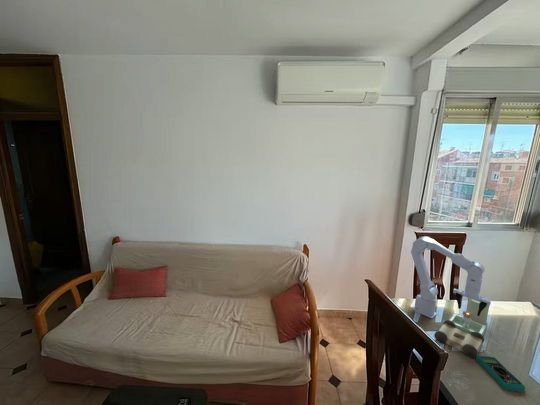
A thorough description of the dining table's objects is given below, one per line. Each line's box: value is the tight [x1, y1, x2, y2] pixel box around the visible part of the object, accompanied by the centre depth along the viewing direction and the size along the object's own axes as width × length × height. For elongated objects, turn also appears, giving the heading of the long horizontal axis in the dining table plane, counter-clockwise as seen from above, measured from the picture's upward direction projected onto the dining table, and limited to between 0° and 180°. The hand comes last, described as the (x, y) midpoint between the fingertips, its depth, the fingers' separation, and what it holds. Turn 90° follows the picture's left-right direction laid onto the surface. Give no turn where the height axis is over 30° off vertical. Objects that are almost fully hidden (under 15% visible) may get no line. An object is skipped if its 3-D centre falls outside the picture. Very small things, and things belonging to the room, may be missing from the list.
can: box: [465, 298, 490, 325], centre depth 132 cm, size 9×9×12 cm
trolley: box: [433, 319, 485, 359], centre depth 114 cm, size 16×15×5 cm
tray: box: [449, 313, 487, 336], centre depth 123 cm, size 13×11×4 cm
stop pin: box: [462, 310, 473, 329], centre depth 123 cm, size 4×4×9 cm
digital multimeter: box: [476, 355, 526, 392], centre depth 97 cm, size 7×15×3 cm, turn 175°
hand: (468, 311), depth 122 cm, fingers open, 7 cm apart
